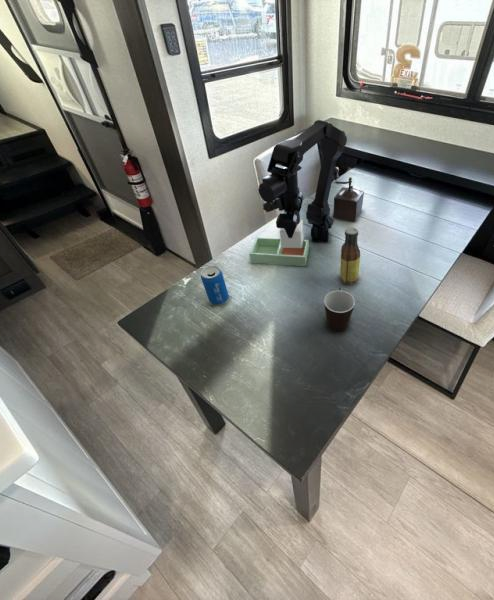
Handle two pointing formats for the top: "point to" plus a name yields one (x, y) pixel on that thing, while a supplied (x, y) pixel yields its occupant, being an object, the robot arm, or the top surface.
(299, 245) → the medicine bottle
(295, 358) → the top surface
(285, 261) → the green divided tray
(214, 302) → the beverage can
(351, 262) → the sauce bottle
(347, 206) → the coffee grinder
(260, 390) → the top surface
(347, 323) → the coffee mug
